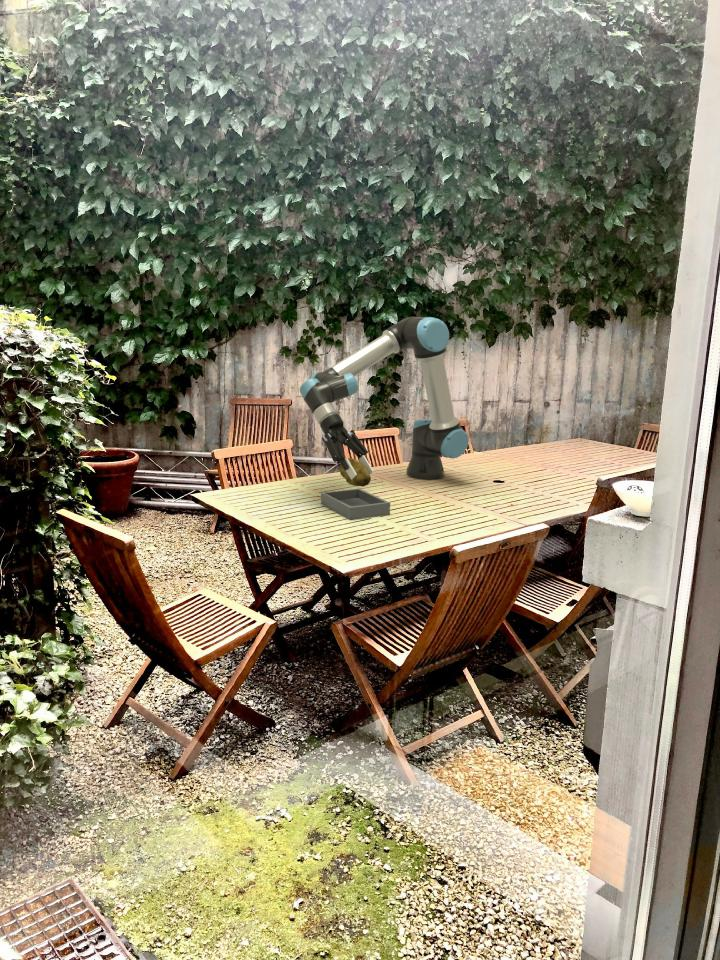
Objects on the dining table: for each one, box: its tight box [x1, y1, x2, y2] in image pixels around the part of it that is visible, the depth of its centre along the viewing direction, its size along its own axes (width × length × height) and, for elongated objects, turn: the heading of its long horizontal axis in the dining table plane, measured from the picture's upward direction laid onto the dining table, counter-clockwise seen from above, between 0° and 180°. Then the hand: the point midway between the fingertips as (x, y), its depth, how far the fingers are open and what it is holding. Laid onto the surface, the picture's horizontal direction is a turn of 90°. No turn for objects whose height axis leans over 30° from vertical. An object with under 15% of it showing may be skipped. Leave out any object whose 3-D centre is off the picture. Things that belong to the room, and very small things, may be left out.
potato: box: [338, 457, 372, 488], centre depth 232 cm, size 8×13×8 cm, turn 19°
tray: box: [320, 487, 391, 521], centre depth 235 cm, size 20×15×4 cm
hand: (362, 475), depth 230 cm, fingers closed on potato, 7 cm apart
